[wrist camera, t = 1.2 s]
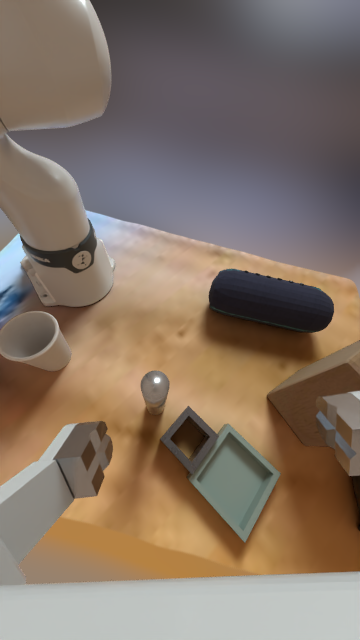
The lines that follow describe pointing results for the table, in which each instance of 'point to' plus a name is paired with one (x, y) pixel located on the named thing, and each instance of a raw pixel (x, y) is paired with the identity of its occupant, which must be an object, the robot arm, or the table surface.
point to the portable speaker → (270, 301)
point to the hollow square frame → (201, 450)
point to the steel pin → (155, 391)
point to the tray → (235, 480)
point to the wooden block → (316, 391)
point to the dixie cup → (35, 341)
